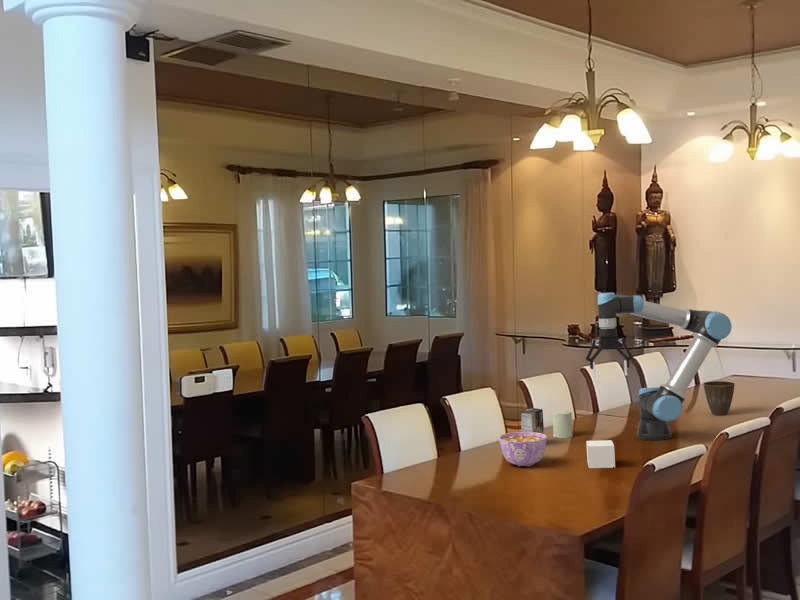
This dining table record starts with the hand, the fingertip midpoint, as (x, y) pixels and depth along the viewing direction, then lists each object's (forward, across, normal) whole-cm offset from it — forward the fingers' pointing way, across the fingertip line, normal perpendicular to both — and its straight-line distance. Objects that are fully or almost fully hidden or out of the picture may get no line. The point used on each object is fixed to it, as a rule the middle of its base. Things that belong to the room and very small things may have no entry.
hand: (610, 375), depth 356 cm
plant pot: (+32, +60, +68) cm, 96 cm away
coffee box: (+32, -35, +8) cm, 48 cm away
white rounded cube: (+32, -8, -31) cm, 45 cm away
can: (+32, -21, +25) cm, 46 cm away
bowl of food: (+32, -39, -28) cm, 58 cm away
